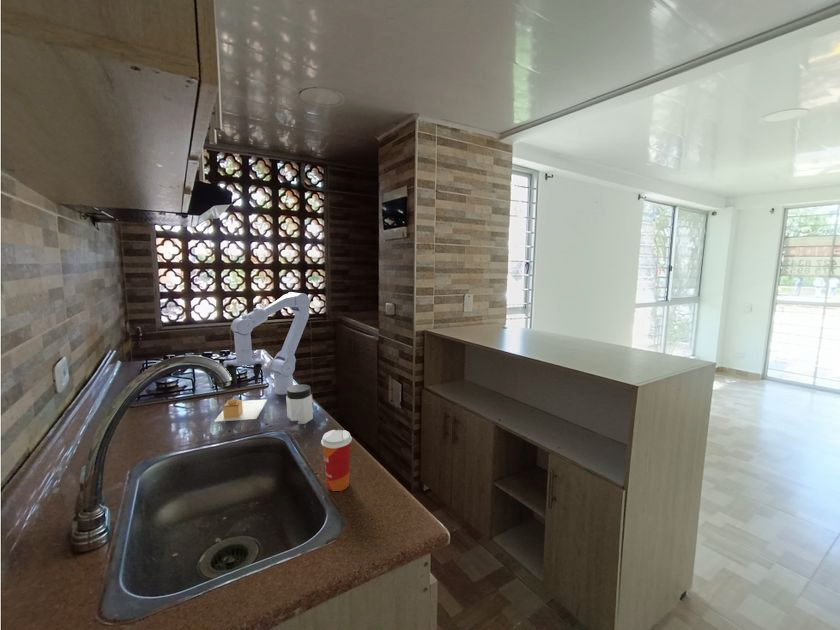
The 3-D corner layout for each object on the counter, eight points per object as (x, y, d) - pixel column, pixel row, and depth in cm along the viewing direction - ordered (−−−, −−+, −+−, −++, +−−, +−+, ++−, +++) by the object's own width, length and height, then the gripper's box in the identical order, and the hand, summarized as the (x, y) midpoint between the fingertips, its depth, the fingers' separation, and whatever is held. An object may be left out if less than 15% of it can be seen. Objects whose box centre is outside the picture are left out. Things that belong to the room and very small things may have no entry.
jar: (285, 425, 131) (283, 392, 129) (289, 415, 139) (288, 384, 137) (311, 424, 133) (309, 391, 131) (314, 414, 141) (313, 383, 139)
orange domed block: (228, 412, 139) (227, 398, 138) (242, 411, 139) (241, 397, 139) (223, 418, 134) (222, 403, 133) (238, 416, 135) (237, 402, 134)
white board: (230, 405, 149) (230, 401, 148) (267, 402, 151) (267, 399, 151) (214, 425, 131) (213, 421, 131) (256, 422, 133) (256, 418, 133)
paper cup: (327, 476, 102) (325, 428, 99) (355, 477, 102) (354, 428, 99) (319, 494, 94) (316, 442, 92) (349, 495, 94) (347, 443, 92)
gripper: (219, 352, 139) (222, 387, 141) (260, 351, 141) (263, 385, 144) (225, 348, 146) (228, 381, 148) (265, 346, 148) (267, 379, 150)
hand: (246, 383), depth 146 cm, fingers open, 7 cm apart
